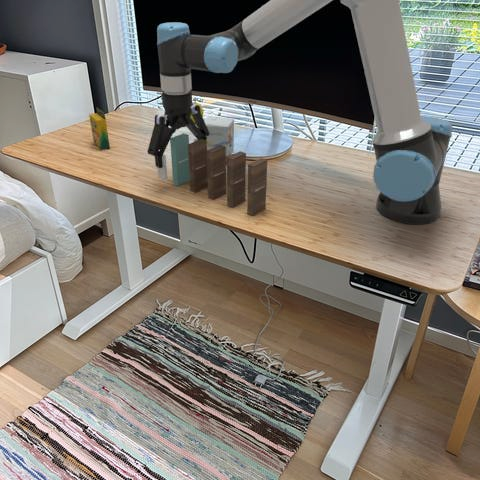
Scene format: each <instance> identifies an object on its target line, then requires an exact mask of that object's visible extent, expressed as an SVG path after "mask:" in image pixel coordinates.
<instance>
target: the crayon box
mask: <svg viewBox="0 0 480 480" xmlns="http://www.w3.org/2000/svg"><path fill="white" fill-rule="evenodd" d="M88 115H89V116H88V117H89V122H90V127H91V133H92V140H93V144H94V145H95V146H96V147H98V148H99V149H100V150H101V151H106V150H110V149H111V146H110V140H109V133H108V125H107V120H106V119H107V118H106V115H105V113H104V112H103V111H102V110H101V109H99V107H97V106H96V113H89V114H88Z"/></svg>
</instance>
